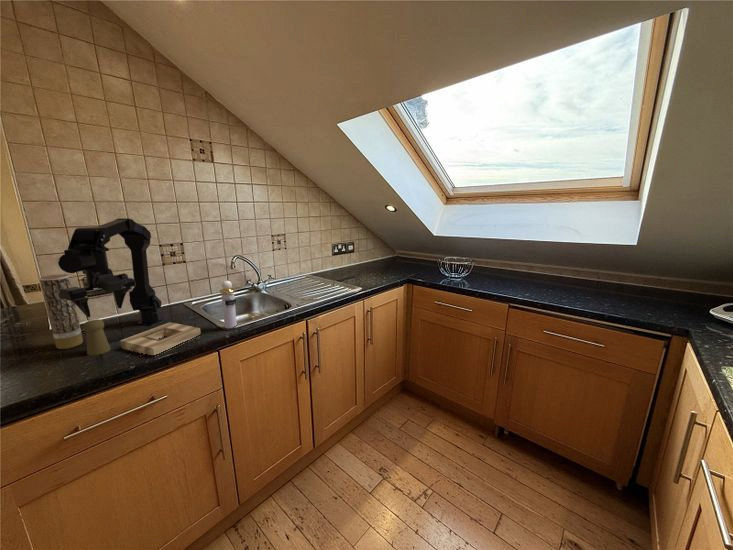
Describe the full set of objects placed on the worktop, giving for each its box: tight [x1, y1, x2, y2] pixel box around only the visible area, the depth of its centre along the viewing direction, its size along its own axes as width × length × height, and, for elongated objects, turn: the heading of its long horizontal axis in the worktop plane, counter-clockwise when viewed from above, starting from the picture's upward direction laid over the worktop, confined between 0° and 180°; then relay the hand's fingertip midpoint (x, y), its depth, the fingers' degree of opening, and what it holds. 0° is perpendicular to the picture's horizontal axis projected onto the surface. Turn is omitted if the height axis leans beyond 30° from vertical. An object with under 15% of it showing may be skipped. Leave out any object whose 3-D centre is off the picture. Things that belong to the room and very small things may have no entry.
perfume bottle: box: [219, 280, 238, 329], centre depth 119 cm, size 6×6×20 cm
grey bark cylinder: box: [39, 273, 84, 350], centre depth 101 cm, size 7×7×25 cm
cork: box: [82, 318, 111, 356], centre depth 99 cm, size 6×6×11 cm
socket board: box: [120, 322, 202, 356], centre depth 108 cm, size 16×18×3 cm
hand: (104, 312), depth 99 cm, fingers open, 9 cm apart
